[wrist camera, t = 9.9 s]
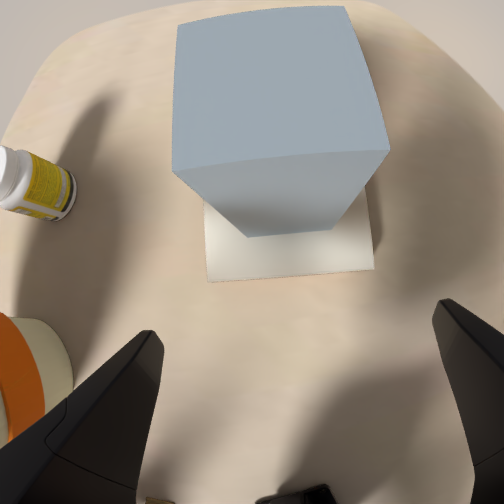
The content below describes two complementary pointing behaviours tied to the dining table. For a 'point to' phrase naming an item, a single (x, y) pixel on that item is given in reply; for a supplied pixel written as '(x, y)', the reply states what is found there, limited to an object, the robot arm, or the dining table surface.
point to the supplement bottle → (34, 185)
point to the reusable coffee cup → (30, 374)
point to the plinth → (288, 248)
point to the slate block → (275, 117)
